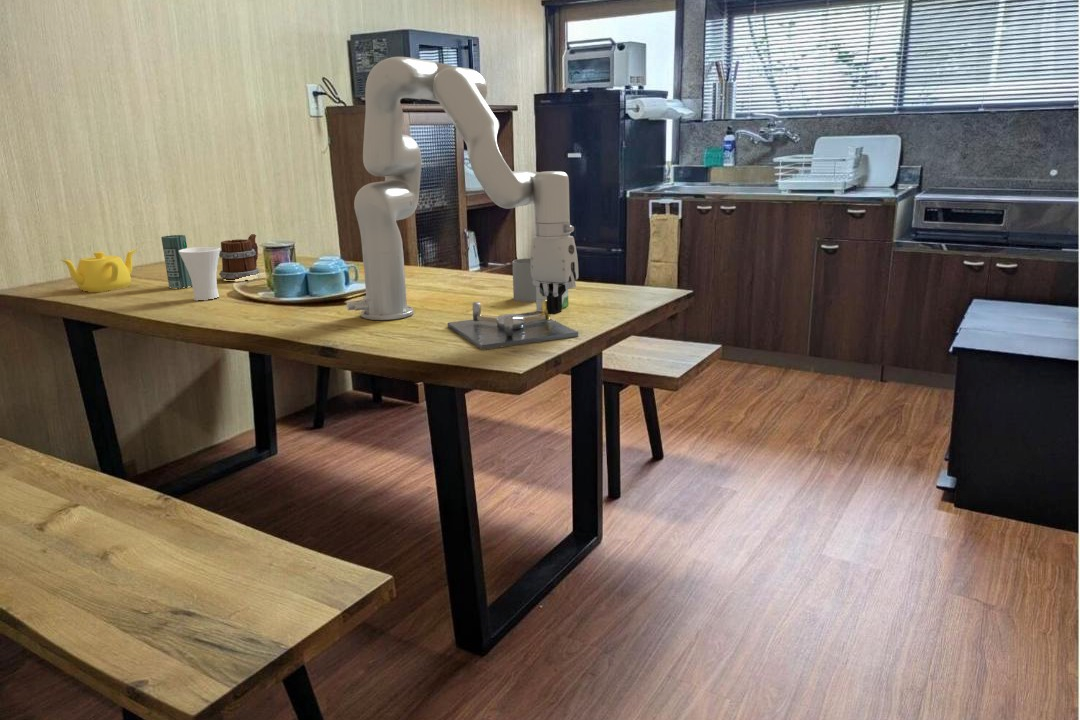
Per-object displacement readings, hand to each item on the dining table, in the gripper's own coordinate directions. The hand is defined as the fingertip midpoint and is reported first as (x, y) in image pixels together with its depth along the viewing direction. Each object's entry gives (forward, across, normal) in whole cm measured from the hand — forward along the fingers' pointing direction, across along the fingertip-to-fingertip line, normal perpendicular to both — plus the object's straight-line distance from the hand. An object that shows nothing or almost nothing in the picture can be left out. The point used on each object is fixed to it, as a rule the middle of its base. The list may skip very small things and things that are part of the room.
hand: (554, 312), depth 174 cm
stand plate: (+3, +7, +8) cm, 11 cm away
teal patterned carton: (+2, +123, +16) cm, 124 cm away
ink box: (+4, +12, -16) cm, 20 cm away
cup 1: (+2, +101, +21) cm, 103 cm away
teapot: (+2, +141, +28) cm, 144 cm away
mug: (+2, +120, -3) cm, 120 cm away
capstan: (+2, +6, +5) cm, 8 cm away
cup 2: (+4, +24, -23) cm, 33 cm away
